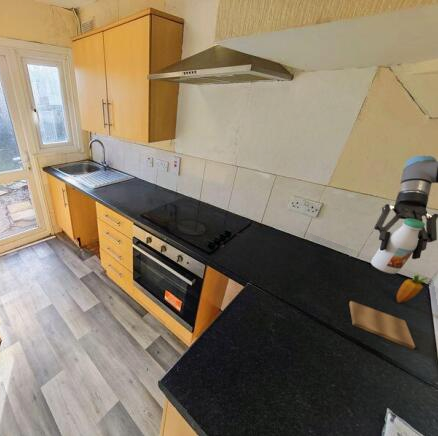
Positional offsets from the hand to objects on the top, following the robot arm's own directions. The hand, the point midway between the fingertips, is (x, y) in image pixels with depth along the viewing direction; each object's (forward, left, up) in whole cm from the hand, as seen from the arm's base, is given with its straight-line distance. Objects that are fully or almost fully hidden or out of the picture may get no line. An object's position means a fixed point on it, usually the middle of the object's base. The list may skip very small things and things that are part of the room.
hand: (398, 253), depth 78 cm
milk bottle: (0, -3, -9) cm, 9 cm away
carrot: (-13, -11, -27) cm, 32 cm away
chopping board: (-4, +7, -26) cm, 28 cm away
